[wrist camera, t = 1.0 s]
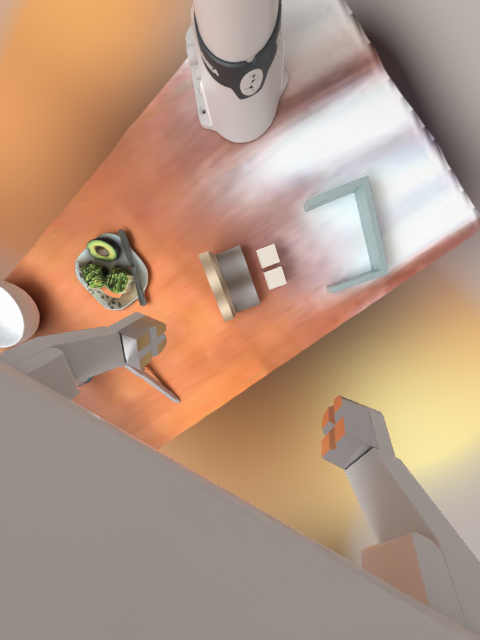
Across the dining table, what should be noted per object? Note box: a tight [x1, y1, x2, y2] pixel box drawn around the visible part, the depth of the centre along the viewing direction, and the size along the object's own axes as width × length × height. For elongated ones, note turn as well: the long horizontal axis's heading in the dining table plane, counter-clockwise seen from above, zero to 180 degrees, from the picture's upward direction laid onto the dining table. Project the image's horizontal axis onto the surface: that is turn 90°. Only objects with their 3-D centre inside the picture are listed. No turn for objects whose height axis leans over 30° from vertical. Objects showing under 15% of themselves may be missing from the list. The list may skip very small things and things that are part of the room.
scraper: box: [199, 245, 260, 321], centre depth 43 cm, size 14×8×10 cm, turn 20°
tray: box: [304, 175, 389, 293], centre depth 42 cm, size 20×12×4 cm, turn 20°
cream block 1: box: [256, 244, 280, 269], centre depth 44 cm, size 4×4×4 cm
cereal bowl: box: [0, 280, 40, 347], centre depth 50 cm, size 17×17×7 cm
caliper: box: [121, 363, 180, 403], centre depth 52 cm, size 20×1×6 cm, turn 41°
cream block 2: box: [263, 266, 287, 290], centre depth 45 cm, size 4×4×4 cm
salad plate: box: [75, 229, 148, 311], centre depth 48 cm, size 19×18×5 cm
